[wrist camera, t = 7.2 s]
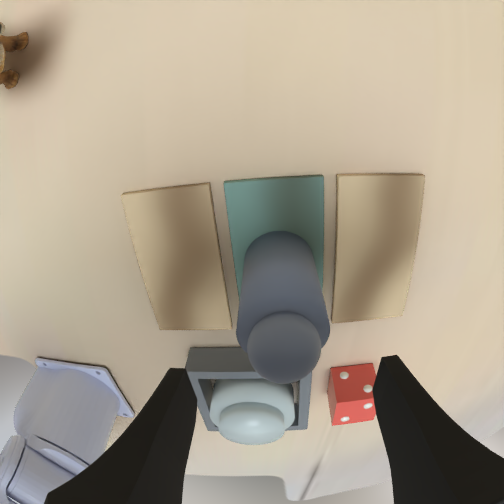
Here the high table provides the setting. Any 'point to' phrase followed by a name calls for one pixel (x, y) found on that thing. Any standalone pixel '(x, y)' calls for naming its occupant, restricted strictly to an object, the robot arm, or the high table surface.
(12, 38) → the lion figurine
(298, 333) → the pawn
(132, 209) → the track
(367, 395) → the red die
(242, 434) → the dome
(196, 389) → the dome frame
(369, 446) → the high table surface
